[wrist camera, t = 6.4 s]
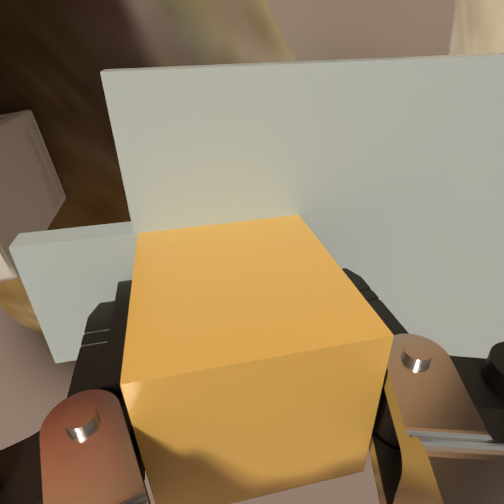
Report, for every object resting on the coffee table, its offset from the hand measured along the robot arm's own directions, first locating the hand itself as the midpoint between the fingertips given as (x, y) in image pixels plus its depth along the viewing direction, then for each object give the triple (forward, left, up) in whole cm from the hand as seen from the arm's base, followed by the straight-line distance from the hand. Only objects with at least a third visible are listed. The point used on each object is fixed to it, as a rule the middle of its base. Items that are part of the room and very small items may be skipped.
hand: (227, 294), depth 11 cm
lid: (-4, 0, -2) cm, 5 cm away
